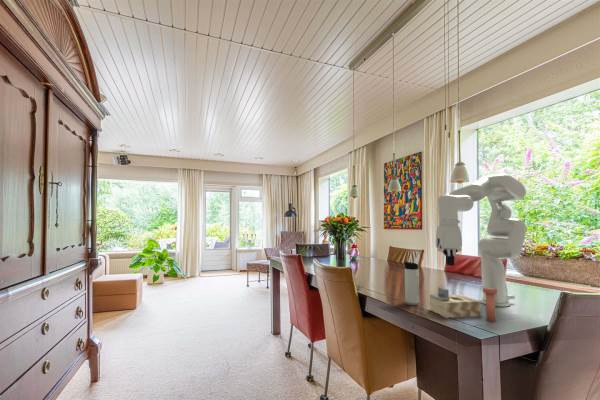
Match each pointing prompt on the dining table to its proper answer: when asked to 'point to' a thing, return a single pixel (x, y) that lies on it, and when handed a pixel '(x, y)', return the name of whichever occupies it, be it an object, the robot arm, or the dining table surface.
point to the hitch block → (456, 306)
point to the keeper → (441, 294)
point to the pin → (490, 303)
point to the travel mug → (411, 283)
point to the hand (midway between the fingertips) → (450, 264)
